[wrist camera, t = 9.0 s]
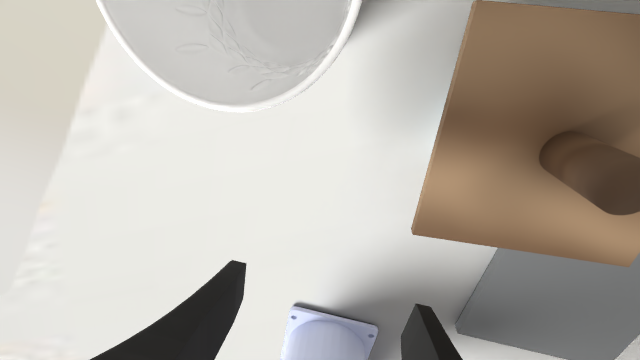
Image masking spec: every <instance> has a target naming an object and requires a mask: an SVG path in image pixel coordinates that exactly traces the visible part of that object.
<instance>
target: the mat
mask: <svg viewBox="0 0 640 360" xmlns="http://www.w3.org/2000/svg"><path fill="white" fill-rule="evenodd" d="M455 327H456V330H457V333H458V334H462V335H467V336H471V337H475V338H479V339H483V340H488V341H492V342H496V343H500V344H504V345H508V346H513V347H517V348H521V349H525V350H529V351H534V352H538V353H542V354H546V355H550V356H555V357H559V358H563V359H567V360H614V359H615V358H616V357H617V356H618V355H619V354H620V353H621V352H622V351H623V350H624V349H625V348H626V347H627V346H628V345H629V344H630V343H631V342H632V341H633V340H634V339H635V338H636V337H637V336H638V335H639V334H640V252H639V254H638V255H637V257H636V258H635V260H634V261H633V262H632V264H631V265H630V267H623V266H616V265H610V264H603V263H597V262H590V261H583V260H577V259H570V258H564V257H557V256H550V255H544V254H537V253H531V252H524V251H518V250H511V249H504V248H498V249H497V251H496V253H495V255H494V257H493V258H492V260H491V262H490V264H489V265H488V267H487V269H486V271H485V273H484V274H483V276H482V278H481V280H480V281H479V283H478V285H477V287H476V289H475V290H474V292H473V294H472V296H471V297H470V299H469V301H468V303H467V305H466V306H465V308H464V310H463V312H462V313H461V315H460V317H459V319H458V321H457V322H456V324H455Z"/></svg>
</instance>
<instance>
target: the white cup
mask: <svg viewBox="0 0 640 360" xmlns="http://www.w3.org/2000/svg"><path fill="white" fill-rule="evenodd" d="M96 2H97V4H98V6H99V8H100V10H101V12H102V14H103V16H104V18H105V20H106V22H107V23H108V25H109V27H110V29H111V30H112V32H113V33H114V35H115V36H116V38H117V39H118V41H119V42H120V43H121V45H122V46H123V47H124V49H125V50H126V51H127V53H128V54H129V55H130V56H131V57H132V58H133V60H134V61H135V62H136V63H137V64H138V65H139V66H140V67H141V68H142V69H143V70H144V71H145V72H146V73H147V74H148V75H150V76H151V77H152V78H153V79H154V80H156V81H157V82H158V83H159V84H161V85H162V86H164V87H165V88H166V89H168V90H170V91H171V92H173V93H174V94H176V95H178V96H180V97H182V98H184V99H186V100H188V101H190V102H192V103H195V104H198V105H200V106H204V107H207V108H211V109H215V110H220V111H228V112H250V111H258V110H263V109H267V108H271V107H274V106H277V105H279V104H282V103H284V102H286V101H288V100H290V99H292V98H294V97H296V96H297V95H299V94H301V93H302V92H303V91H305V90H306V89H308V88H309V87H310V86H311V85H313V84H314V83H315V82H316V81H317V80H318V79H319V78H320V77H321V76H322V75H323V74H324V73H325V72H326V71H327V70H328V68H329V67H330V66H331V65H332V63H333V62H334V61H335V59H336V58H337V57H338V55H339V54H340V52H341V50H342V49H343V47H344V45H345V44H346V42H347V40H348V38H349V36H350V34H351V32H352V29H353V27H354V24H355V22H356V19H357V16H358V13H359V10H360V7H361V4H362V0H96Z"/></svg>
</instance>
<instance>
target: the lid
mask: <svg viewBox="0 0 640 360" xmlns="http://www.w3.org/2000/svg"><path fill="white" fill-rule="evenodd" d="M411 230H412V234H413V235H419V236H426V237H432V238H439V239H445V240H452V241H458V242H465V243H472V244H478V245H485V246H491V247H498V248H504V249H511V250H518V251H524V252H531V253H537V254H544V255H550V256H557V257H564V258H570V259H577V260H583V261H590V262H597V263H603V264H610V265H616V266H623V267H630V265H631V264H632V262H633V261H634V260H635V258H636V257H637V255H638V254H639V252H640V15H639V14H628V13H617V12H606V11H594V10H583V9H572V8H561V7H550V6H538V5H527V4H516V3H505V2H494V1H482V0H477V1H474V2H473V3H472V7H471V11H470V15H469V18H468V22H467V26H466V29H465V33H464V37H463V40H462V44H461V48H460V51H459V55H458V59H457V62H456V66H455V70H454V73H453V77H452V81H451V84H450V88H449V92H448V95H447V99H446V103H445V106H444V110H443V114H442V117H441V121H440V125H439V128H438V132H437V136H436V139H435V143H434V147H433V150H432V154H431V158H430V162H429V165H428V169H427V173H426V176H425V180H424V184H423V187H422V191H421V195H420V198H419V202H418V206H417V209H416V213H415V217H414V220H413V224H412V228H411Z"/></svg>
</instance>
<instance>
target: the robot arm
mask: <svg viewBox="0 0 640 360" xmlns="http://www.w3.org/2000/svg"><path fill="white" fill-rule="evenodd" d="M245 273H246V263H242V262H238V261H234V260H232V261H230V262H229V263H228V264H227V265H226V266H225V267H224V268H223V269H222V270H220V271H219V272H218V273H217V274H216V275H215V276H214V277H213V278H212V279H211V280H209V281H208V282H207V283H206V284H205V285H204V286H202V287H201V288H200V289H199V290H198V291H196V292H195V293H194V294H193V295H192V296H190V297H189V298H188V299H186V300H185V301H184V302H182V303H181V304H180V305H179V306H177V307H176V308H175V309H173V310H172V311H171V312H169V313H168V314H166V315H165V316H163V317H162V318H161V319H159V320H158V321H156V322H155V323H153V324H152V325H150V326H148V327H147V328H145V329H144V330H142V331H140V332H139V333H137V334H135V335H134V336H132V337H131V338H129V339H127V340H126V341H124V342H122V343H120V344H119V345H117V346H115V347H113V348H111V349H109V350H107V351H105V352H104V353H102V354H100V355H98V356H96V357H94V358H92V359H90V360H214V359H215V357H216V355H217V353H218V352H219V350H220V348H221V346H222V344H223V342H224V340H225V338H226V336H227V334H228V332H229V330H230V329H231V327H232V325H233V323H234V320H235V318H236V315H237V313H238V310H239V308H240V305H241V303H242V300H243V295H244V284H245ZM377 335H378V328H377V327H376V326H375V325H371V324H367V323H363V322H359V321H354V320H350V319H346V318H342V317H338V316H334V315H330V314H325V313H321V312H317V311H313V310H309V309H305V308H300V307H296V306H294V307H291V308H290V311H289V317H288V322H287V327H286V332H285V337H284V343H283V348H282V353H281V358H280V360H368V357H369V355H370V352H371V350H372V347H373V345H374V342H375V340H376V337H377ZM401 354H402V360H463V359H462V358H461V356H460V355H459V353H458V352H457V350H456V348H455V347H454V345H453V344H452V342H451V340H450V339H449V337H448V335H447V334H446V332H445V330H444V329H443V327H442V325H441V323H440V322H439V320H438V318H437V317H436V315H435V313H434V312H433V310H432V308H431V307H429V306H424V305H420V304H415V307H414V309H413V311H412V313H411V315H410V318H409V320H408V322H407V324H406V326H405V329H404V331H403V333H402V335H401Z"/></svg>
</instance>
